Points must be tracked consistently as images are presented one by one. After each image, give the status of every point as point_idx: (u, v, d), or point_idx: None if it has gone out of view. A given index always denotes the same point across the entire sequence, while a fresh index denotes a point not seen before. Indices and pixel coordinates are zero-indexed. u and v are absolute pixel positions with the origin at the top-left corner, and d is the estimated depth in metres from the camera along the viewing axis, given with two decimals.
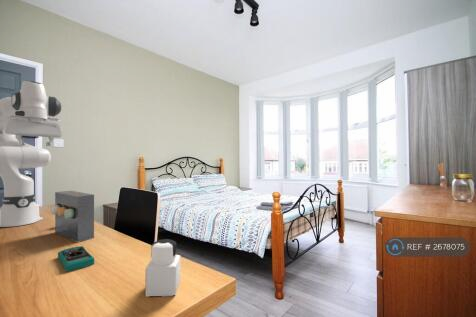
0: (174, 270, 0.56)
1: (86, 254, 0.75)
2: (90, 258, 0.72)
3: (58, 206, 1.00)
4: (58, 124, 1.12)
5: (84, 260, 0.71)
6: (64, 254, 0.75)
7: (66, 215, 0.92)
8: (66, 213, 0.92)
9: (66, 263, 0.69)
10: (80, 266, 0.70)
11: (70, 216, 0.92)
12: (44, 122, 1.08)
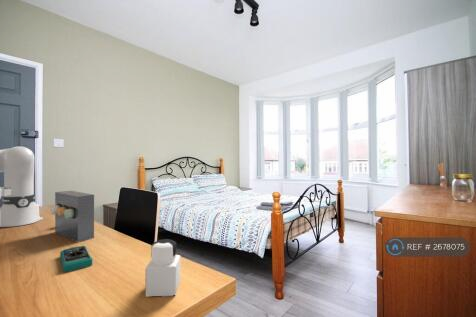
0: (174, 270, 0.56)
1: (85, 255, 0.75)
2: (88, 259, 0.71)
3: (58, 206, 1.00)
4: None
5: (82, 261, 0.70)
6: (65, 254, 0.75)
7: (66, 215, 0.92)
8: (66, 213, 0.92)
9: (64, 263, 0.68)
10: (77, 267, 0.69)
11: (70, 216, 0.92)
12: None
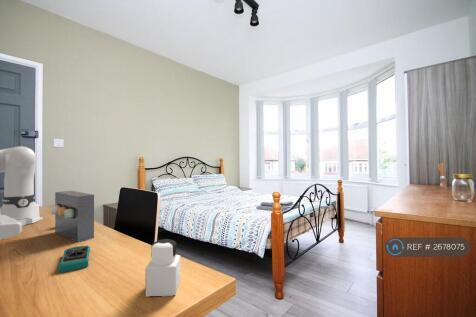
0: (174, 270, 0.56)
1: (84, 255, 0.74)
2: (84, 261, 0.70)
3: (58, 206, 1.00)
4: None
5: (77, 262, 0.69)
6: (67, 253, 0.76)
7: (66, 215, 0.92)
8: (66, 213, 0.92)
9: (60, 263, 0.68)
10: (72, 268, 0.69)
11: (70, 216, 0.92)
12: None
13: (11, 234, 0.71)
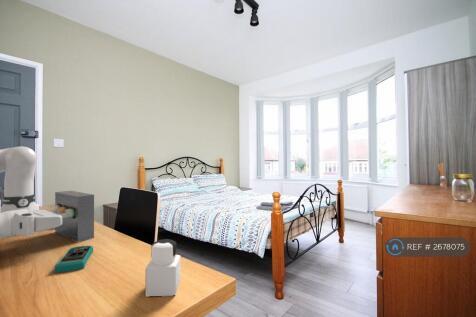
0: (174, 270, 0.56)
1: (82, 256, 0.73)
2: (79, 262, 0.69)
3: (58, 206, 1.00)
4: None
5: (72, 263, 0.69)
6: (68, 252, 0.76)
7: None
8: None
9: (56, 264, 0.68)
10: (68, 269, 0.68)
11: (70, 216, 0.92)
12: None
13: (54, 225, 0.80)
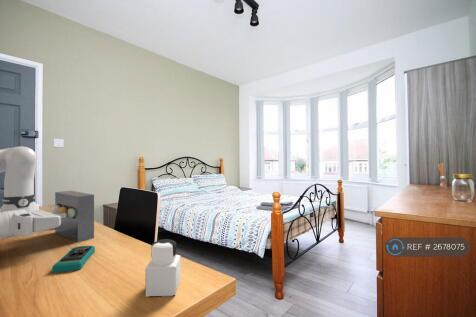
0: (174, 270, 0.56)
1: (81, 257, 0.73)
2: (76, 263, 0.69)
3: (58, 206, 1.00)
4: None
5: (70, 264, 0.68)
6: (70, 252, 0.76)
7: (69, 214, 0.93)
8: (69, 212, 0.93)
9: (55, 264, 0.68)
10: (65, 269, 0.68)
11: (73, 215, 0.93)
12: None
13: (52, 226, 0.80)
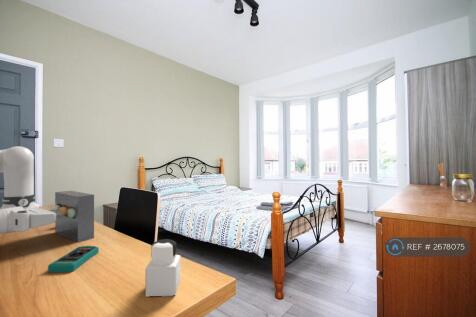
0: (174, 270, 0.56)
1: (78, 258, 0.72)
2: (69, 264, 0.68)
3: (58, 206, 1.00)
4: None
5: (63, 265, 0.68)
6: (72, 251, 0.77)
7: (69, 214, 0.93)
8: (69, 212, 0.93)
9: (51, 263, 0.69)
10: (59, 270, 0.67)
11: (73, 215, 0.93)
12: None
13: (48, 222, 0.84)
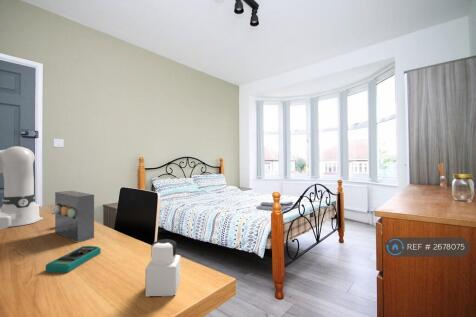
0: (174, 270, 0.56)
1: (76, 258, 0.72)
2: (64, 265, 0.67)
3: (58, 206, 1.00)
4: None
5: (59, 265, 0.67)
6: (74, 251, 0.77)
7: (69, 214, 0.93)
8: (69, 212, 0.93)
9: None
10: (55, 270, 0.67)
11: (73, 215, 0.93)
12: None
13: (0, 227, 0.74)
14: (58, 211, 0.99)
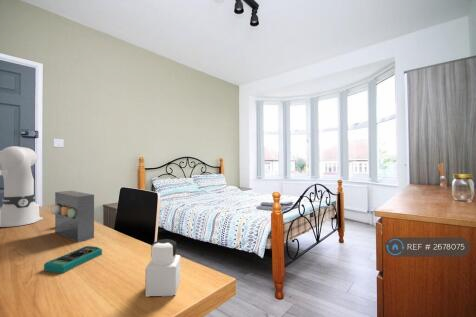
0: (174, 270, 0.56)
1: (73, 259, 0.71)
2: (60, 265, 0.67)
3: (58, 206, 1.00)
4: None
5: (55, 265, 0.67)
6: (76, 251, 0.78)
7: (69, 214, 0.93)
8: (69, 212, 0.93)
9: None
10: (51, 270, 0.67)
11: (73, 215, 0.93)
12: None
13: None
14: (58, 211, 0.99)
